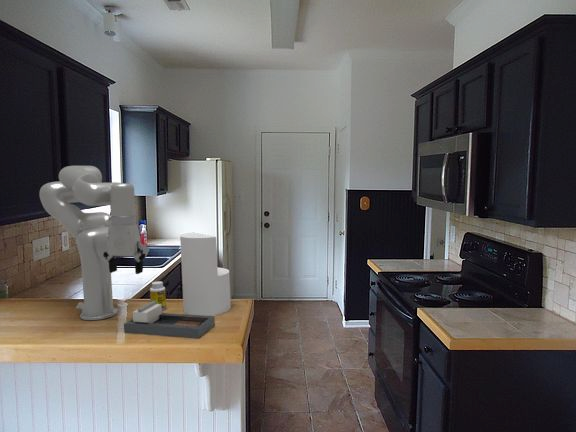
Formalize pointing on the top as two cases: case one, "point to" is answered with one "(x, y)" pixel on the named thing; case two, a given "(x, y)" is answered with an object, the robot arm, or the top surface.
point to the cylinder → (203, 276)
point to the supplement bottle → (158, 294)
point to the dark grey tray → (173, 325)
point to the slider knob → (148, 313)
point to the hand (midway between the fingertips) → (126, 272)
